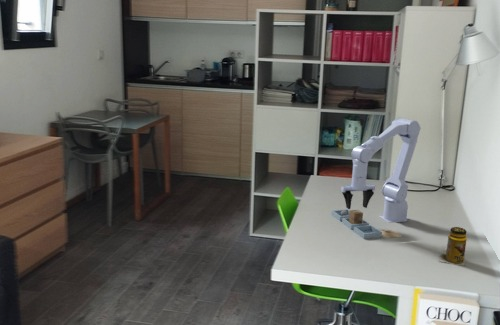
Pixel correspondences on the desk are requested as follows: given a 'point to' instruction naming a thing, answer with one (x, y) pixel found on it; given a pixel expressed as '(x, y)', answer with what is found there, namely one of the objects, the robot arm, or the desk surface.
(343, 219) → the dish
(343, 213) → the grey ball
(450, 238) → the condiment
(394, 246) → the desk surface
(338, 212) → the dish
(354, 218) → the letter block
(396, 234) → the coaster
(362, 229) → the dish
